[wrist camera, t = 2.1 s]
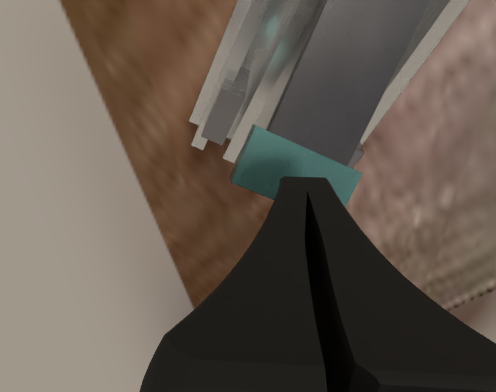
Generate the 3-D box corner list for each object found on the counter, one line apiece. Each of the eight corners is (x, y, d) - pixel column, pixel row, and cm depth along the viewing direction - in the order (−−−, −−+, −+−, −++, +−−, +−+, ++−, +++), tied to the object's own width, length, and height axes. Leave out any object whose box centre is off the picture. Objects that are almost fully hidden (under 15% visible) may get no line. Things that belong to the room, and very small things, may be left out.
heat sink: (320, -204, 14) (334, -241, 10) (499, -86, 15) (571, -79, 12) (194, 108, 21) (174, 155, 17) (323, 165, 23) (332, 220, 19)
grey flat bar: (373, -153, 12) (386, -173, 11) (479, -85, 13) (498, -98, 12) (228, 176, 14) (230, 182, 13) (327, 217, 15) (336, 225, 14)
